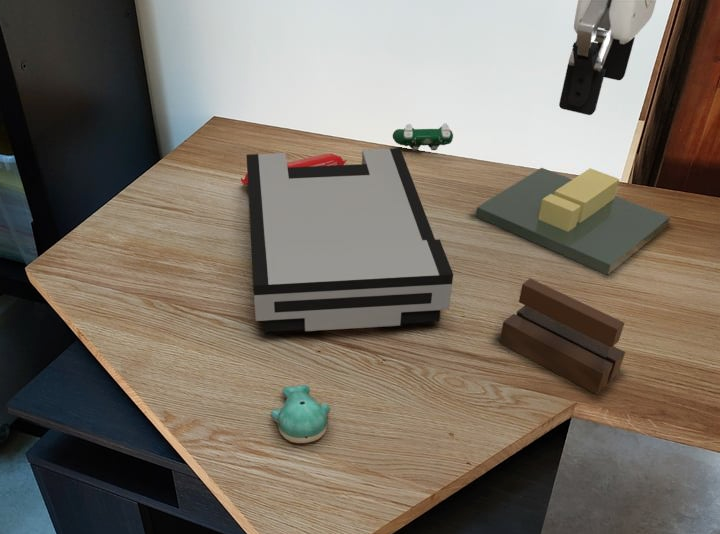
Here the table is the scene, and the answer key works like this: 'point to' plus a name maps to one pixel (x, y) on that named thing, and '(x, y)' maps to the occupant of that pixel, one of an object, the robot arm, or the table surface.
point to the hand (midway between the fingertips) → (592, 93)
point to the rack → (560, 354)
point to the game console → (342, 246)
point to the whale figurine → (301, 416)
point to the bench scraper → (569, 318)
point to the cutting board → (590, 237)
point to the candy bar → (311, 163)
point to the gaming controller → (423, 137)
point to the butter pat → (559, 212)
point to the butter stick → (589, 192)
